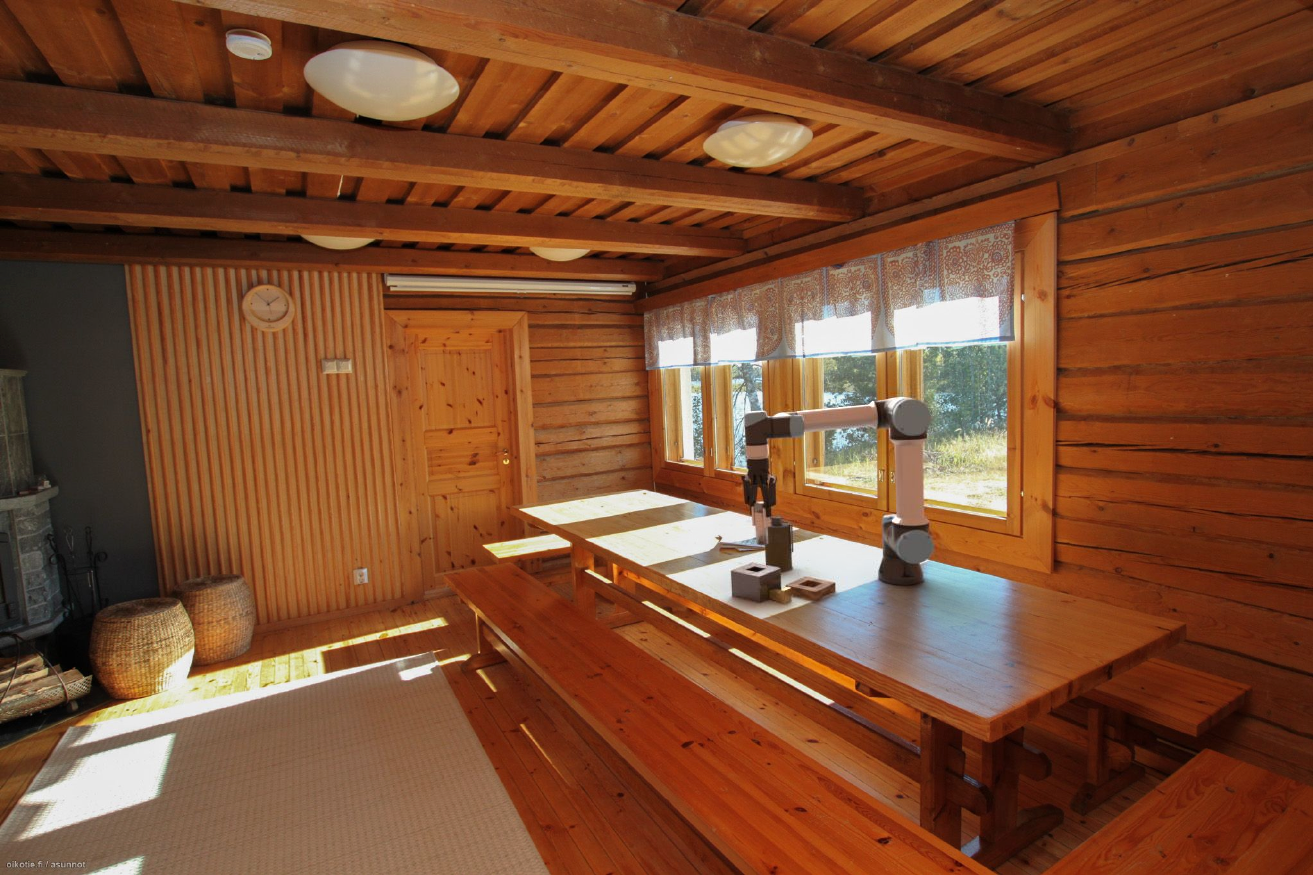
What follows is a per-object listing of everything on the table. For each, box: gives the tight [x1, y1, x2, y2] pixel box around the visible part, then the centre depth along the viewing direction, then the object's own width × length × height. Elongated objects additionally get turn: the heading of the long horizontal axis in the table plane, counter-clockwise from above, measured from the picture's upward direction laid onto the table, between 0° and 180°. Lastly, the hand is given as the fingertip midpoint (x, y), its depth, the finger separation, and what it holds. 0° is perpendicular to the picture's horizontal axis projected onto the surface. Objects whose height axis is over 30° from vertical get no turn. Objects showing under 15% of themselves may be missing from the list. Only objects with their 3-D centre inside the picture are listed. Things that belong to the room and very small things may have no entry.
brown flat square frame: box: [784, 576, 836, 602], centre depth 232 cm, size 12×12×3 cm
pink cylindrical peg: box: [754, 501, 768, 546], centre depth 230 cm, size 4×4×14 cm
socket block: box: [730, 562, 782, 604], centre depth 232 cm, size 12×12×9 cm
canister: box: [764, 515, 794, 573], centre depth 261 cm, size 11×10×20 cm
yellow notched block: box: [768, 586, 792, 605], centre depth 227 cm, size 12×4×4 cm, turn 44°
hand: (761, 525), depth 230 cm, fingers closed on pink cylindrical peg, 4 cm apart
